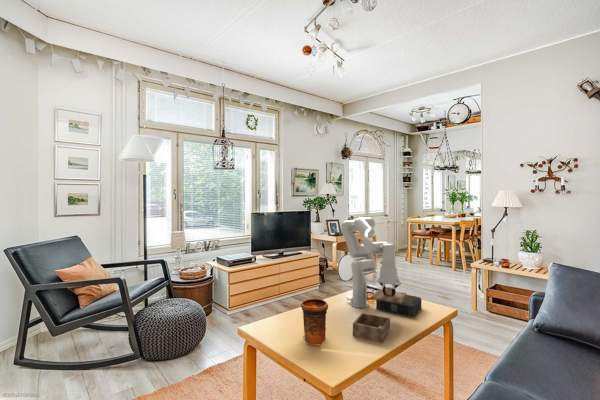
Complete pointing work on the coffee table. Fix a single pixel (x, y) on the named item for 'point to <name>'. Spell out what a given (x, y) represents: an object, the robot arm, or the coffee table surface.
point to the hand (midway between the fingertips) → (389, 294)
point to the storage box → (371, 327)
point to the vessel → (314, 320)
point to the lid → (388, 295)
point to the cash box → (401, 306)
